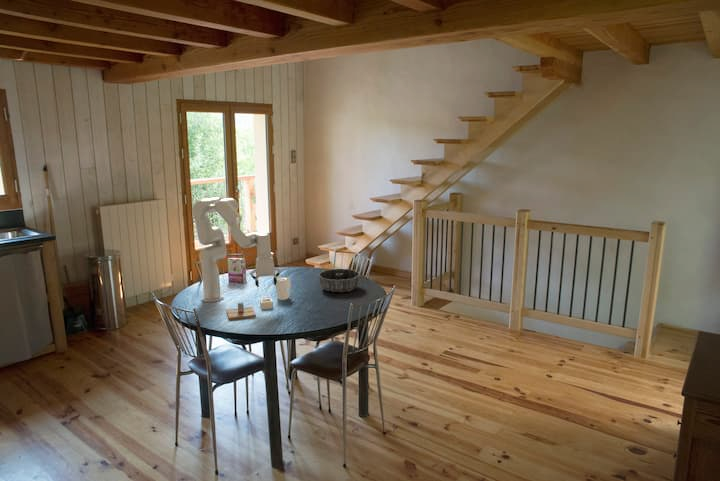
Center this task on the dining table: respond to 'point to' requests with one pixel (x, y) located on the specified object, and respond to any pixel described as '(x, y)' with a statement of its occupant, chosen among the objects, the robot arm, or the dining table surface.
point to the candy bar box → (236, 270)
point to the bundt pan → (339, 280)
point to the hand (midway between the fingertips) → (266, 285)
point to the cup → (283, 288)
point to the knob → (266, 303)
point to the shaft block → (241, 312)
